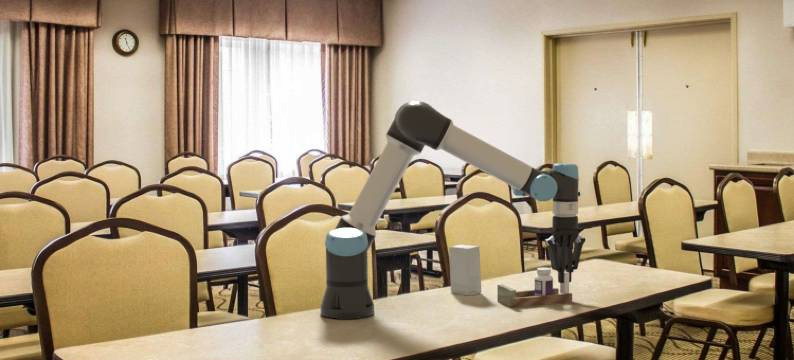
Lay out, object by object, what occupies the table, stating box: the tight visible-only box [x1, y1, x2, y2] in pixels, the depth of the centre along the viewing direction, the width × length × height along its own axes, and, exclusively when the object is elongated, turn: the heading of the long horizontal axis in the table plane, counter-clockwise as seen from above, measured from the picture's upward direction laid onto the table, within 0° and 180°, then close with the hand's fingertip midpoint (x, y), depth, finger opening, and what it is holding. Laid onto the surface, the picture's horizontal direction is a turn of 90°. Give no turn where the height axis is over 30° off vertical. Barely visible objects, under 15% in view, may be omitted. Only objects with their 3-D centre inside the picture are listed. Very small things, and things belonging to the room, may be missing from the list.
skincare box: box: [448, 244, 482, 296], centre depth 279 cm, size 8×6×15 cm
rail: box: [497, 284, 573, 308], centre depth 267 cm, size 20×9×5 cm, turn 110°
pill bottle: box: [534, 267, 554, 296], centre depth 267 cm, size 5×5×10 cm
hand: (564, 293), depth 270 cm, fingers closed
